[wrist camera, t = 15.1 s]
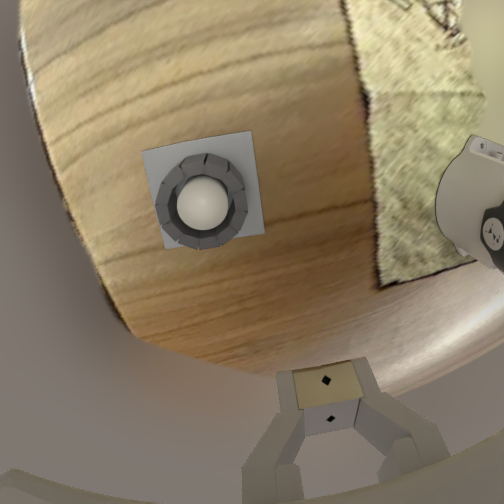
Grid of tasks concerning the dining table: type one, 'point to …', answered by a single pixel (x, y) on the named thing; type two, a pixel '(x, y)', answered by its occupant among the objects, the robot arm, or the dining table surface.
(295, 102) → the dining table surface
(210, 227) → the cap
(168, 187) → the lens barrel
